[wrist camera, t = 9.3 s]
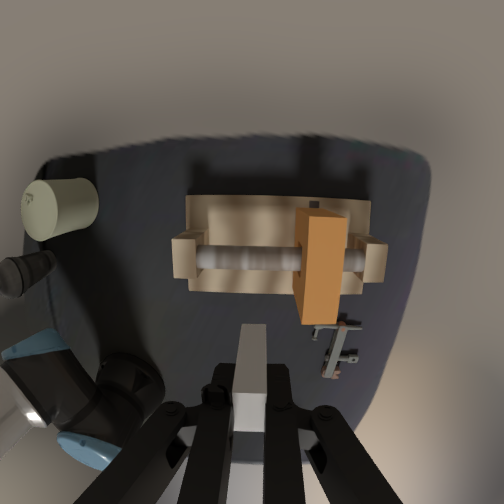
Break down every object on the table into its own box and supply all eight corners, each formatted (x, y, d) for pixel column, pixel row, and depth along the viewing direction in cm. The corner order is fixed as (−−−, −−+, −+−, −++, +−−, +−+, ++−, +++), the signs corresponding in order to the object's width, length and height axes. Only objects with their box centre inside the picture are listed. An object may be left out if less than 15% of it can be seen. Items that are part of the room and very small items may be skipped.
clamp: (352, 379, 46) (301, 377, 46) (349, 372, 48) (300, 370, 48) (376, 308, 43) (321, 303, 43) (372, 303, 45) (318, 298, 45)
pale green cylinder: (75, 168, 41) (30, 168, 29) (107, 195, 42) (64, 201, 30) (56, 210, 43) (12, 219, 31) (85, 238, 44) (43, 254, 32)
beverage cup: (36, 268, 46) (-29, 300, 26) (40, 237, 44) (-32, 263, 25) (59, 284, 46) (-8, 324, 27) (63, 252, 45) (-11, 285, 25)
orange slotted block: (292, 287, 42) (301, 324, 30) (296, 207, 39) (309, 216, 28) (317, 287, 42) (335, 323, 30) (323, 208, 39) (347, 218, 27)
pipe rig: (190, 288, 45) (173, 313, 36) (187, 195, 41) (166, 198, 32) (359, 291, 44) (380, 316, 35) (368, 200, 40) (394, 205, 31)
